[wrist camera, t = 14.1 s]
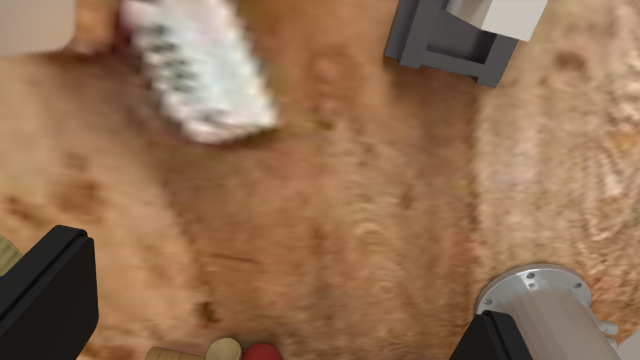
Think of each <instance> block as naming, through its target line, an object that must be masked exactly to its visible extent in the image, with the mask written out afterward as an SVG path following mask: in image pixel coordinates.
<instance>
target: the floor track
mask: <svg viewBox="0 0 640 360" xmlns="http://www.w3.org/2000/svg"><path fill="white" fill-rule="evenodd" d="M448 2H449V0H399V3H398V6H397V9H396V13H395V16H394V19H393V23H392V26H391V30H390V33H389V36H388V40H387V43H386V46H385V50H384V53H383V54H384V56H387V57H391V58H395V59H397V61H398V63H399V65H403V66H407V67H411V68H416V69H419V68H420V65H424V66H428V67H432V68H436V69H440V70H444V71H448V72H452V73H457V74H461V75H465V76H469V77H470V78H471V79H473V80H474V81H475V82H476V83H478V84H482V85H486V86H490V87H494V88H496V86H497V83H498V84H499V82H500V79H501V77H502V75H503V73H504V71H505V68H506V66H507V64H508V62H509V60H510V57H511V55H512V53H513V51H514V48H515V46H516V44H517V42H518V40H519V39H516V38H512V37H508V36H505V35H501V34H497V33H493V32H489V31H485V30H482V29H479V28H477V27H476V26H474V25H472V24H470V23H468V22H466V21H464V20H462V19H460V18H458V17H456V16H455V15H453V14H451V13H449V12H447V11H445V10H446V7H447V4H448Z"/></svg>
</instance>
